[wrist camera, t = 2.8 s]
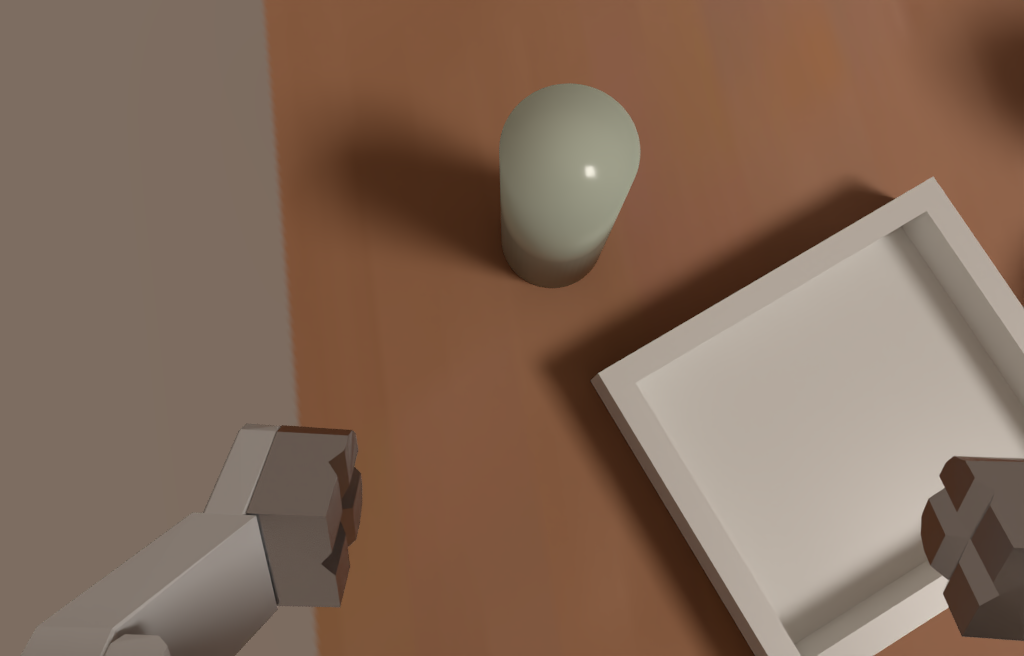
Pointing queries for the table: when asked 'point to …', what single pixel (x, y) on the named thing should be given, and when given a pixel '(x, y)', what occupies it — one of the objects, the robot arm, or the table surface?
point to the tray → (830, 424)
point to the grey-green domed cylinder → (563, 181)
